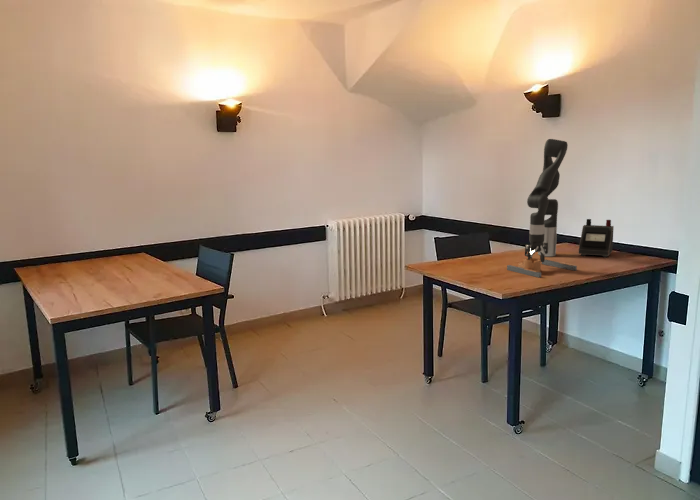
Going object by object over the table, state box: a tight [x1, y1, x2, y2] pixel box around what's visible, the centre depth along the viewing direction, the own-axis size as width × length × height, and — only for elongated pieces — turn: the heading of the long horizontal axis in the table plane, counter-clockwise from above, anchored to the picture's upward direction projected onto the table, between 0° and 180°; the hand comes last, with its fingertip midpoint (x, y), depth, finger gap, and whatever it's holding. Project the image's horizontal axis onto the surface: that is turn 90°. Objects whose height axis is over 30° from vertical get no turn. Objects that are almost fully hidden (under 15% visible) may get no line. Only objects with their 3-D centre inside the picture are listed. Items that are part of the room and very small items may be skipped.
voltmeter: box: [578, 218, 614, 259], centre depth 323 cm, size 16×16×20 cm
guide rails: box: [506, 259, 578, 278], centre depth 289 cm, size 22×27×3 cm
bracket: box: [517, 257, 542, 272], centre depth 290 cm, size 18×8×7 cm, turn 179°
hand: (536, 263), depth 292 cm, fingers open, 8 cm apart
